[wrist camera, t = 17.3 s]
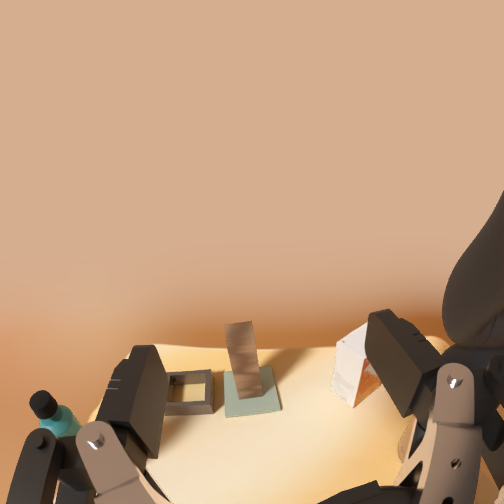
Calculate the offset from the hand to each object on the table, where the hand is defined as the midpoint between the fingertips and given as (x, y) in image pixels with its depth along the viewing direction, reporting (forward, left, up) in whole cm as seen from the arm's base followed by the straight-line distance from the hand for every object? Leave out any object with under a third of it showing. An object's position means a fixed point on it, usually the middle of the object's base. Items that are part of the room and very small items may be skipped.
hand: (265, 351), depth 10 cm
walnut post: (+2, -29, -35) cm, 46 cm away
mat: (+2, -29, -36) cm, 46 cm away
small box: (-18, -24, -36) cm, 47 cm away
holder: (+14, -29, -36) cm, 48 cm away
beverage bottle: (+29, -10, -36) cm, 47 cm away
